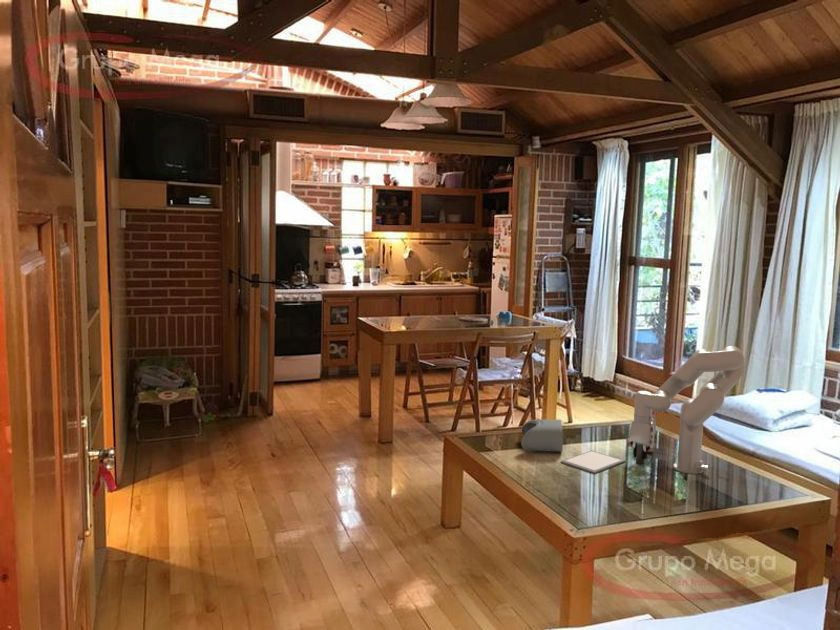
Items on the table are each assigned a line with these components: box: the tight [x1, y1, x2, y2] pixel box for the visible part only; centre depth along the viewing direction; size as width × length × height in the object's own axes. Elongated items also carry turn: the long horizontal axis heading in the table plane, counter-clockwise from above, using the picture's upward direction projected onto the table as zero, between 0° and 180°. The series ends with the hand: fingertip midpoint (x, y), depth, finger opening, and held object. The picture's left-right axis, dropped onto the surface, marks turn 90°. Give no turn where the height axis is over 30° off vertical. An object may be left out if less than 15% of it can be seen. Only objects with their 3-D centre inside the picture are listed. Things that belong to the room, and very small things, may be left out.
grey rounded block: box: [520, 419, 564, 452], centre depth 332 cm, size 22×19×13 cm
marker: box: [635, 443, 645, 466], centre depth 313 cm, size 4×4×12 cm
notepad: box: [560, 450, 626, 475], centre depth 314 cm, size 18×24×1 cm
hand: (640, 457), depth 313 cm, fingers closed on marker, 3 cm apart
